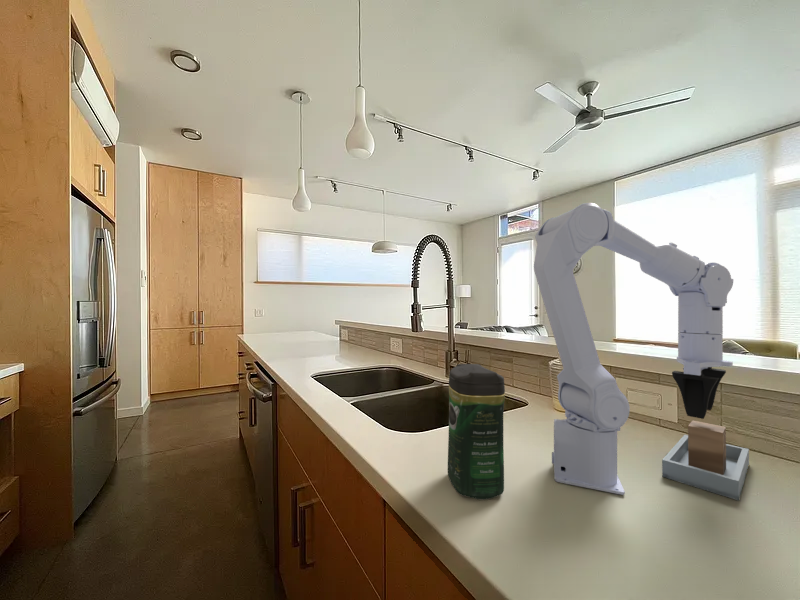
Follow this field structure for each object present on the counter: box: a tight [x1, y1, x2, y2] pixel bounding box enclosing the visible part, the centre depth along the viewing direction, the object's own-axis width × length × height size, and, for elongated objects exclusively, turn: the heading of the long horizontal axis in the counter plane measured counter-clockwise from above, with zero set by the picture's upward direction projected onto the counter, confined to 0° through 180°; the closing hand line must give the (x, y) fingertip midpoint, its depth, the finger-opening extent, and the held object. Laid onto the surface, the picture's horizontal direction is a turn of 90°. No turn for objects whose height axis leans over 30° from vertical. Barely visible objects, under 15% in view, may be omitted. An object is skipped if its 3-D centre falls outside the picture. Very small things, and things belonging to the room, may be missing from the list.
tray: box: [661, 434, 750, 501], centre depth 58 cm, size 18×9×3 cm, turn 131°
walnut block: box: [687, 420, 727, 475], centre depth 58 cm, size 4×4×7 cm
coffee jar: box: [447, 363, 506, 501], centre depth 53 cm, size 10×8×19 cm
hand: (699, 412), depth 58 cm, fingers open, 7 cm apart
